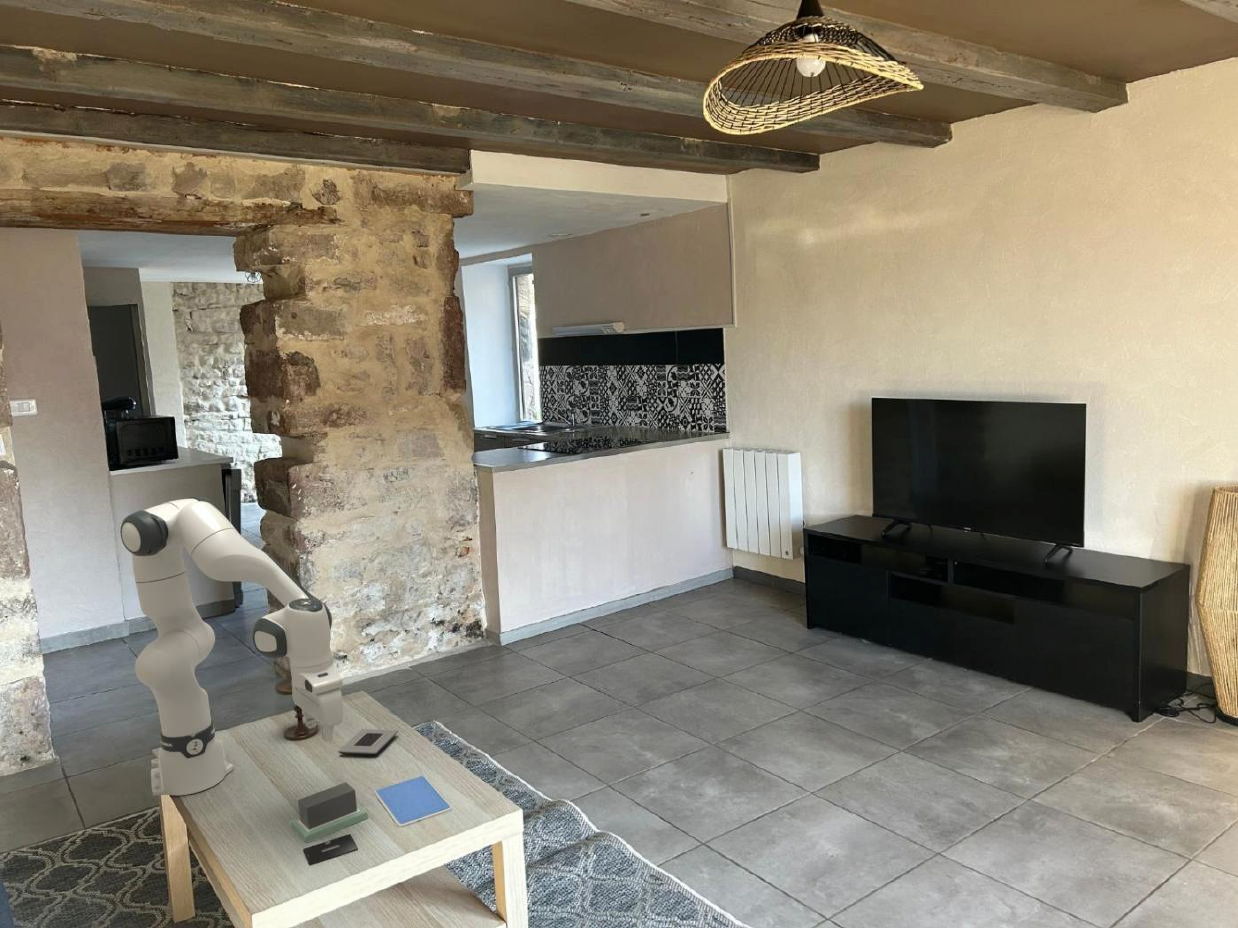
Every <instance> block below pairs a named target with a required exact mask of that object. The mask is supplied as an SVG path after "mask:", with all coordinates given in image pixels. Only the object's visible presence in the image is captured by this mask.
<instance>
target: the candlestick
mask: <svg viewBox="0 0 1238 928" xmlns="http://www.w3.org/2000/svg"><path fill="white" fill-rule="evenodd" d="M288 658H289V657H288ZM289 660H290V658H289ZM289 666H290V665H289ZM290 669H291V666H290ZM286 676H287V677H288V678H285V679H284V680H281V681H279V682H277V683H276V684H275V686H274V691H275V693H276V694H278V695H282V696H292V675H291V672H290V673H289V674H287V675H286ZM292 708H293V710H294V712H295V715H294V719H296V720H297V724H295V725H292V726H290V727H288V728H287V729H286V730H284V732H283V737H284V739H285V740H287V741H295V742H296V741H303V740H307V739H310V738H312V737H314V736H316V735H317V734H318V733H319V731H320V730H319V725H317V724H316V726H315V727H314V728H308V727H307V726H306V722H305V723H304V720H303V719H304V715H303V712H302V709H301V708H300V707H299V706H298V705H296V704H295V705H294V706H293V707H292Z"/></svg>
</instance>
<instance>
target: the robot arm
mask: <svg viewBox="0 0 1238 928" xmlns="http://www.w3.org/2000/svg"><path fill="white" fill-rule="evenodd" d="M120 525H121V526H120V538H121V542H122V544H123V546H124V547H125V549H126V550H127V551H128V552H129V553H131V554H132V558H131V559H132V571H133V577H134V581H135V586H136V590H137V595H138V596H137V597H138V600H139V604H140V608H141V612H142V613H143V615H145V616H146V617H147V618H149V619H150V620H151V621H152V622H153V625H155V628H156V631H157V633H158V637H157V638H156V639H154V640H152V641H151V642H150V643H148V644H147V645H146V646H145V647H144V648H143V650H142V651H141V653H140V654H139V655H138V656H137V658H136V660H135V664H134V672H135V675H136V677H137V678H138V680H139V681H140V682H141V683H142V684H143V685H145V686H146V687H149V689H150V691H151V692H152V694H153V696H154V698H155V701H156V704H157V708H158V715H159V720H160V727H161V729H160V730H161V732H160V736H159V742H160V746H161V747H160V749H158V752H157V755H158V757H156V758H152V759H151V760H150V762H151V769H150V781H151V782H150V783H151V795H152V796H154V797H155V796H164V795H165V796H166V795H167V796H168V795H169V796H186V795H192V794H196V793H199V792H202V791H205V790H208V789H210V788H212V787H214V786H215V785H218V784H219V783H221V781H222V780H223V779H224V778H225V777H226V775H227V774H229V773H231V772H233V770H234V765H233V764H232V763H230V762H228V761H226V756H225V751H224V749H225V748H224V745H223V741H222V740H220V739H219V738H217V737H215V736H216V734H215V733H216V732H215V730H216V729H215V726H214V722H213V720H212V718H211V709H210V702H209V694H208V692H207V691H206V689H204V688H202V687H201V686H200V684H199V682H198V679H197V677H196V675H195V673H196V672H195V670H196V667H197V666H198V665H199V664H200V663H202V662H203V661H204V660H205V659H206V658H207V657H208V656H209V655H210V653H211V651H213V647H214V646H215V643H216V635H215V632H214V631H215V630H214V629H213V628H212V627H211V625H210V624H208V623H207V622H205V621H204V620H203V618H202V617H201V615H200V614H199V612H198V610H197V607H196V606H195V603H194V600H193V596H192V592H191V588H190V582H189V579H188V575H187V569H186V565H185V562H184V561H185V560H184V557H183V550H184V548H185V550H186V551H187V554H188V555H189V556H190V558H191V559H192V561H193V562H194V564H195V565H196V566H197V567H198V570H200V571H201V572H202V573H203V574H204V575H205V576H207V577H208V578H210V579H212V580H215V581H219V582H243V583H245V582H247V583H252V584H253V583H254V584H256V585H260V586H263V587H264V588H265V589H267V590H268V591H269V592H270V593H271V594H272V595H273V596H274V598H276V599H277V600H278V601H279V602H280V603H281V604H282V605H283V606H284V607H283V608H281V609H279V610H277V611H274V612H271V613H269V614H265V615H264V616H262V617H260V618H259V619H257V620H256V622H255V623H254V625H253V627H252V634H251V635H252V636H251V637H252V642H253V645H254V647H255V649H256V651H257V652H258V653H259V654H260V655H262V656H264V657H266V658H268V659H276V658H278V659H279V658H283V657H287V658H290V659H289V666H291V668H290V673H291V675H292V695H291V696H292V700H293V703H294V704H295V705H298V706H299V707H300V708H301V709H302V714H303V715H304V717H303V719H304V720H305V723H306V726H307V727H308V728H314V727H315V726H316V725H317V722H319V723H320V725H321V726H322V729H323V730H322V732H321V738H322V740H323V741H324V742H331V741H332V740H333V739H334V736H333V735H334V734H333V733H334V732H333V731H334V728H335V726H338V725H341V724H342V722H343V719H344V707H343V705H344V704H343V694H342V691H341V687H343V685H344V683H343V678H342V675H340V673H339V672H338V670H337V668H336V665H335V663H334V655H333V652H332V650H331V641H332V640H331V639H332V636H331V635H332V634H331V629H332V627H333V626H332V625H333V616H332V613H331V611H330V609H329V608H328V606H327V605H326V604H325V603H324V602H323V601H322V600H320V599H319V598H317V597H315V596H314V595H313V594H311V593H310V592H309V591H308V590H307V589H306V588H305V587H304V586H303V585H302V584H301V583H300V582H299V581H298V580H297V579H296V578H295V577H294V576H293V574H291V573H290V572H289V571H288V570H287V569H286V568H285V567H284V566H283V565H282V564H281V563H280V562H279V561H278V560H277V559H275V558H274V557H273V556H272V555H271V554H270V553H268V552H266V551H264V550H261V549H259V548H257V547H255V546H254V545H253V544H251V543H250V542H249V541H248V540H246V538H244V537H243V536H242V535H241V534H240V533H239V531H238V530H237V529H236V528H235V527H234V525H233V523H231V522H230V521H229V519H228V518H227V517H226V516H224V514H223V513H222V511H220V510H219V509H218V508H217V506H216V504H215V503H214V502H213V501H212V500H211V499H210V498H208V497H206V496H190V497H188V498H183V499H176V500H170V501H166V502H162V503H161V504H159V505H155V506H152V507H149V508H146V509H144V510H142V509H141V510H138V511H135V512H133V513H131V514H129V515H127V516H126V517H125V518H124V519H123V520H122V522H121V524H120Z"/></svg>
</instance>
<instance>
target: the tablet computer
mask: <svg viewBox="0 0 1238 928" xmlns="http://www.w3.org/2000/svg"><path fill="white" fill-rule="evenodd" d="M374 795H375V796H376V798H377V799H378V801H380V803H381V804H382V806H383V807H384V809H385V810H386V811H387V813H388V815H390V817H391V819H392V820H393V822H394V823H395V825H396V826H397V827H398V828H405V827H408V826H410V825H411V826H412V825H414V824H417V823H420V822H422V821H427V820H429V819H431V818H435V817H438V816H441V815H444V814H446V813H450V812H451V811H452V810H453V807H452V806H451V804H450V803H449V802H448V801H447V799H445V798H444V797H443V795H442V794H441V793H440V792H439V791H438V790H437V789H436V787H435V786H434V785H433V784H432V783H431V782H430V781H429V780H428V778H427V777H426V776H424V775H419V776H417V777H413V778H411V779H408V780H404V781H400V782H398V783H394V784H392V785H391V784H390V785H388V786H385V787H382V788H379V789H376V790H375V791H374Z"/></svg>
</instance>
